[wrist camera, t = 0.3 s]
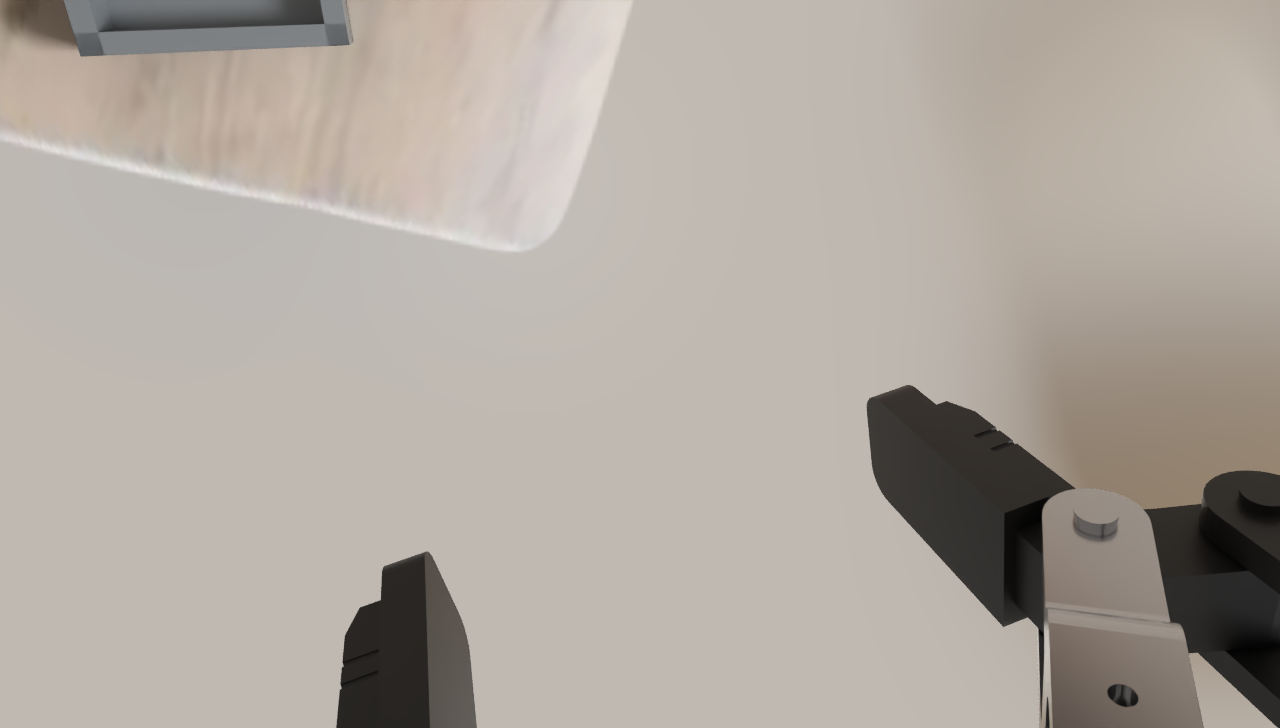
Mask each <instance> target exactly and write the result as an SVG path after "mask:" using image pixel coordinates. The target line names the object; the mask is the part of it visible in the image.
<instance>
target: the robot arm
mask: <svg viewBox="0 0 1280 728" xmlns="http://www.w3.org/2000/svg"><path fill="white" fill-rule="evenodd" d="M867 417H868V427H869V437H870V448H871V459H872V467H873V472H874V476H875V479H876V482H877V484H878V486H879V488H880V490H881V492H882V493H883V495H884V496H885V498H886V499H887V500H888V501H889V503H890V504H891V505H892V506H893V507H894V508H895V509H896V510H897V511H898V512H899V513H900V514H901V516H902V517H903V518H904V519H905V520H906V521H907V522H908V523H909V524H910V525H911V527H912V528H913V529H914V530H915V531H916V532H917V533H918V534H919V535H920V536H921V537H922V538H923V540H924V541H925V542H926V543H927V544H928V545H929V546H930V547H931V548H932V549H933V550H934V552H935V553H936V554H937V555H938V556H939V557H940V558H941V559H942V560H943V561H944V562H945V564H946V565H947V566H948V567H949V568H950V569H951V570H952V571H953V572H954V573H955V574H956V576H957V577H958V578H959V579H960V580H961V581H962V582H963V583H964V584H965V585H966V586H967V588H968V589H969V590H970V591H971V592H972V593H973V594H974V595H975V596H976V597H977V599H978V600H979V601H980V602H981V603H982V604H983V605H984V606H985V607H986V608H987V609H988V611H990V613H991V614H992V615H993V616H994V617H995V618H996V619H997V620H998V621H999V622H1000V624H1002V626H1003V627H1004V626H1007V625H1009V624H1012V623H1014V622H1017V621H1020V620H1022V619H1025V618H1027V617H1028V618H1029V619H1030V620H1031V621H1032V622H1033V623H1034V624H1035V625H1036V626H1037V627H1038V636H1037V649H1038V686H1039V688H1038V691H1039V728H1204V726H1203V722H1202V717H1201V712H1200V707H1199V702H1198V697H1197V692H1196V687H1195V682H1194V678H1193V673H1192V668H1191V663H1190V658H1189V653H1199V654H1200V655H1201V656H1202V657H1203V658H1204V659H1205V660H1206V661H1207V662H1209V664H1210V665H1211V666H1213V667H1214V668H1215V669H1216V670H1217V671H1218V672H1219V673H1220V674H1221V675H1222V676H1223V677H1224V678H1225V679H1226V680H1227V681H1229V682H1230V683H1231V684H1232V685H1233V686H1234V687H1235V688H1236V689H1237V690H1238V691H1239V692H1240V693H1241V694H1242V695H1243V696H1245V697H1246V698H1247V699H1248V700H1249V701H1250V702H1251V703H1252V704H1253V705H1254V706H1255V707H1256V708H1258V710H1259V711H1261V712H1262V713H1263V714H1264V715H1265V716H1266V717H1267V718H1268V719H1269V720H1270V721H1271V722H1272V723H1273V724H1274V725H1276V726H1277V727H1278V728H1280V475H1276V474H1271V473H1266V472H1260V471H1235V472H1228V473H1224V474H1221V475H1219V476H1217V477H1214V478H1213V479H1211V480H1210V481H1209V482H1208V483H1207V484H1206V486H1205V488H1204V492H1203V498H1202V504H1197V505H1187V506H1178V507H1168V508H1158V509H1145V510H1143V509H1142V508H1141V507H1140V506H1139V505H1138V504H1136V503H1135V502H1133V501H1132V500H1130V499H1128V498H1126V497H1124V496H1122V495H1120V494H1117V493H1113V492H1110V491H1106V490H1101V489H1093V488H1090V489H1089V488H1080V489H1075V488H1074V487H1073V486H1071V485H1070V484H1069V483H1068V482H1066V481H1065V480H1064V479H1062V478H1061V477H1060V476H1058V475H1057V474H1056V473H1054V472H1053V471H1052V470H1051V469H1049V468H1048V467H1047V466H1045V465H1044V464H1043V463H1041V462H1040V461H1039V460H1037V459H1036V458H1035V457H1034V456H1032V455H1031V454H1030V453H1028V452H1027V451H1026V450H1024V449H1023V448H1022V447H1021V446H1019V445H1018V444H1014V443H1013V440H1011V439H1010V438H1009V437H1007V436H1006V435H1005V434H1004V433H1002V432H1001V431H997V430H996V427H995V426H993V425H992V424H991V423H989V422H988V421H987V420H985V419H984V418H983V417H981V416H980V415H979V414H978V413H976V412H975V411H972V410H969V409H967V408H963V407H961V406H958V405H955V404H953V403H950V402H947V401H946V402H943V403H940V404H937V405H936V404H935V403H933V402H932V401H931V400H930V399H928V398H927V397H926V396H925V395H923V394H922V393H921V392H920V391H919V390H917V389H916V388H915V387H913V386H911V385H906V386H903V387H900V388H898V389H895V390H892V391H889V392H886V393H883V394H880V395H878V396H875V397H872V398H870V399H869V400H868V402H867ZM343 665H344V667H342V673H341V687H342V689H341V690H340V695H339V705H338V718H337V728H477V726H476V715H475V704H474V694H473V683H472V672H471V661H470V651H469V645H468V640H467V636H466V633H465V629H464V625H463V623H462V620H461V617H460V615H459V613H458V610H457V608H456V606H455V604H454V602H453V600H452V598H451V596H450V593H449V591H448V589H447V587H446V585H445V583H444V580H443V579H442V576H441V574H440V572H439V570H438V568H437V566H436V564H435V561H434V560H433V557H432V556H431V554H430V553H429V552H424V553H421V554H418V555H415V556H412V557H410V558H407V559H404V560H401V561H398V562H395V563H392V564H390V565H387V566H384V567H383V570H382V587H381V600H380V601H378V602H374V603H372V604H369V605H366V606H363V607H360V608H359V611H358V612H357V614H356V616H355V618H354V620H353V622H352V623H351V625H350V627H349V629H348V631H347V633H346V635H345V641H344V652H343Z"/></svg>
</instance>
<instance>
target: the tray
mask: <svg viewBox="0 0 1280 728" xmlns="http://www.w3.org/2000/svg"><path fill="white" fill-rule="evenodd" d="M64 4H65V7H66V10H67V13H68V17H69V20H70V23H71V26H72V30H73V33H74V36H75V39H76V42H77V46H78V49H79V52H80V55H81V56H102V55H125V54H149V53H172V52H196V51H220V50H243V49H267V48H290V47H314V46H337V45H350V44H351V43H352V42H353V37H352V31H351V25H350V19H349V13H348V7H347V2H346V0H64Z"/></svg>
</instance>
